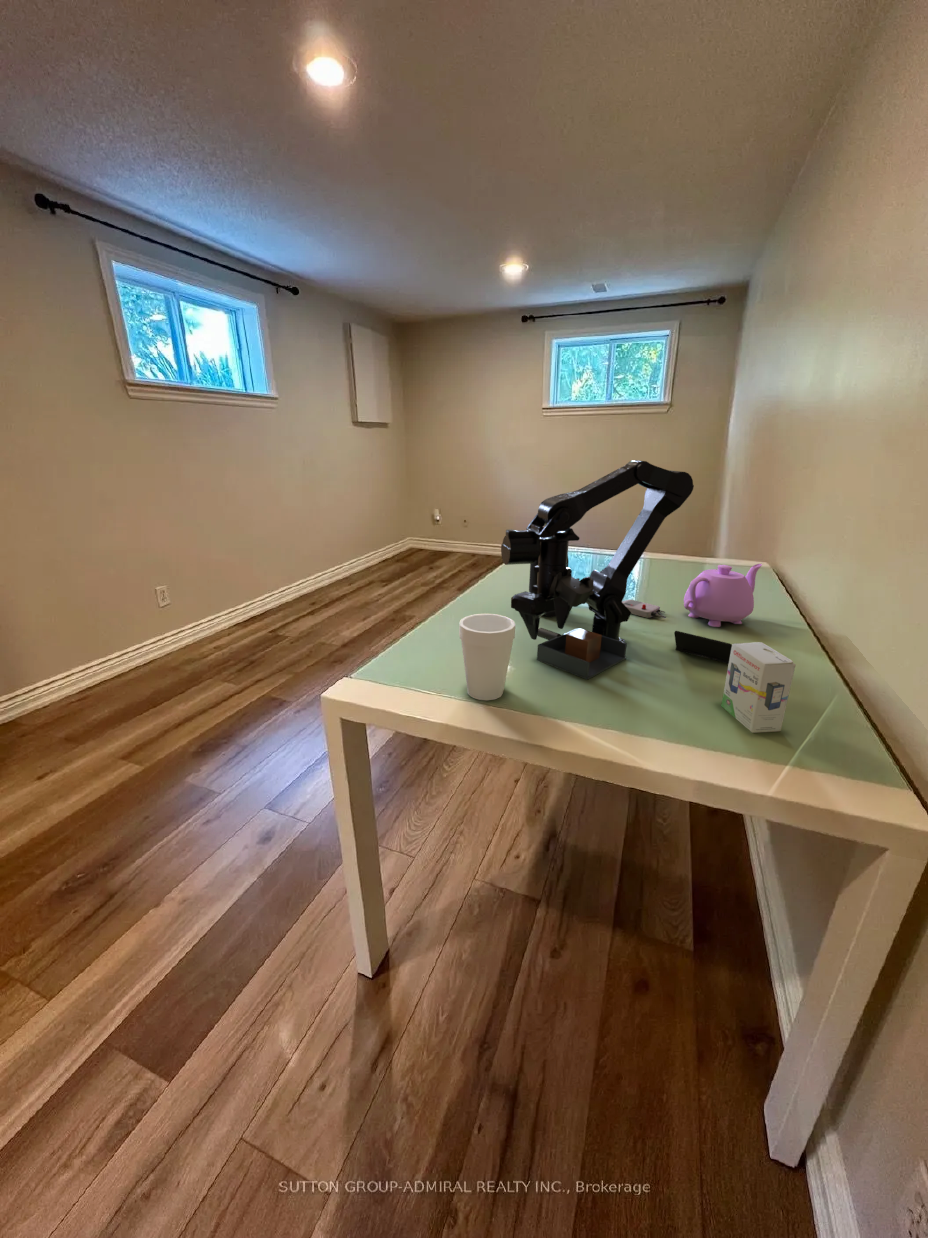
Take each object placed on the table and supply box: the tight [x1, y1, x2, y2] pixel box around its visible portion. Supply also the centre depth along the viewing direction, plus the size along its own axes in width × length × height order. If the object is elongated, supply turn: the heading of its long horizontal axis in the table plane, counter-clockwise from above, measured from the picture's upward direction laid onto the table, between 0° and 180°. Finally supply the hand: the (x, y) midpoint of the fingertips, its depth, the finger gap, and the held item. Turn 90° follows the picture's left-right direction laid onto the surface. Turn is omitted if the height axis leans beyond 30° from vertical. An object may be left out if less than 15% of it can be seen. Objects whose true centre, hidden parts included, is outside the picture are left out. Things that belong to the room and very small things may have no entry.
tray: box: [536, 627, 628, 681], centre depth 101 cm, size 14×17×4 cm
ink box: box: [720, 641, 797, 734], centre depth 77 cm, size 9×5×12 cm, turn 5°
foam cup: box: [458, 613, 516, 701], centre depth 85 cm, size 10×9×13 cm
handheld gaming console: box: [673, 630, 733, 665], centre depth 101 cm, size 12×7×10 cm
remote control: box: [622, 599, 667, 619], centre depth 128 cm, size 7×16×3 cm, turn 45°
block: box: [565, 628, 602, 662], centre depth 99 cm, size 5×5×5 cm
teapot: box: [683, 563, 763, 628], centre depth 122 cm, size 22×16×14 cm
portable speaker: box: [528, 556, 569, 618], centre depth 123 cm, size 9×9×20 cm
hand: (547, 633), depth 105 cm, fingers open, 9 cm apart
